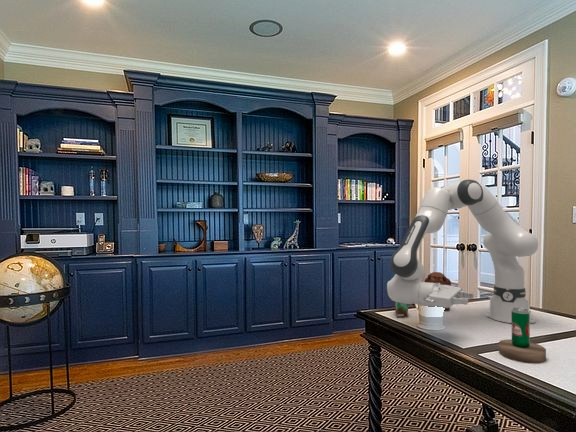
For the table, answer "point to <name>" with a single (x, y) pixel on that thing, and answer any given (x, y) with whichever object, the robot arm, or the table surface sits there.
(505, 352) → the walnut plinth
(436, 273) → the wooden figurine
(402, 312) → the food container
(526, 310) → the soda can
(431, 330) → the table surface
